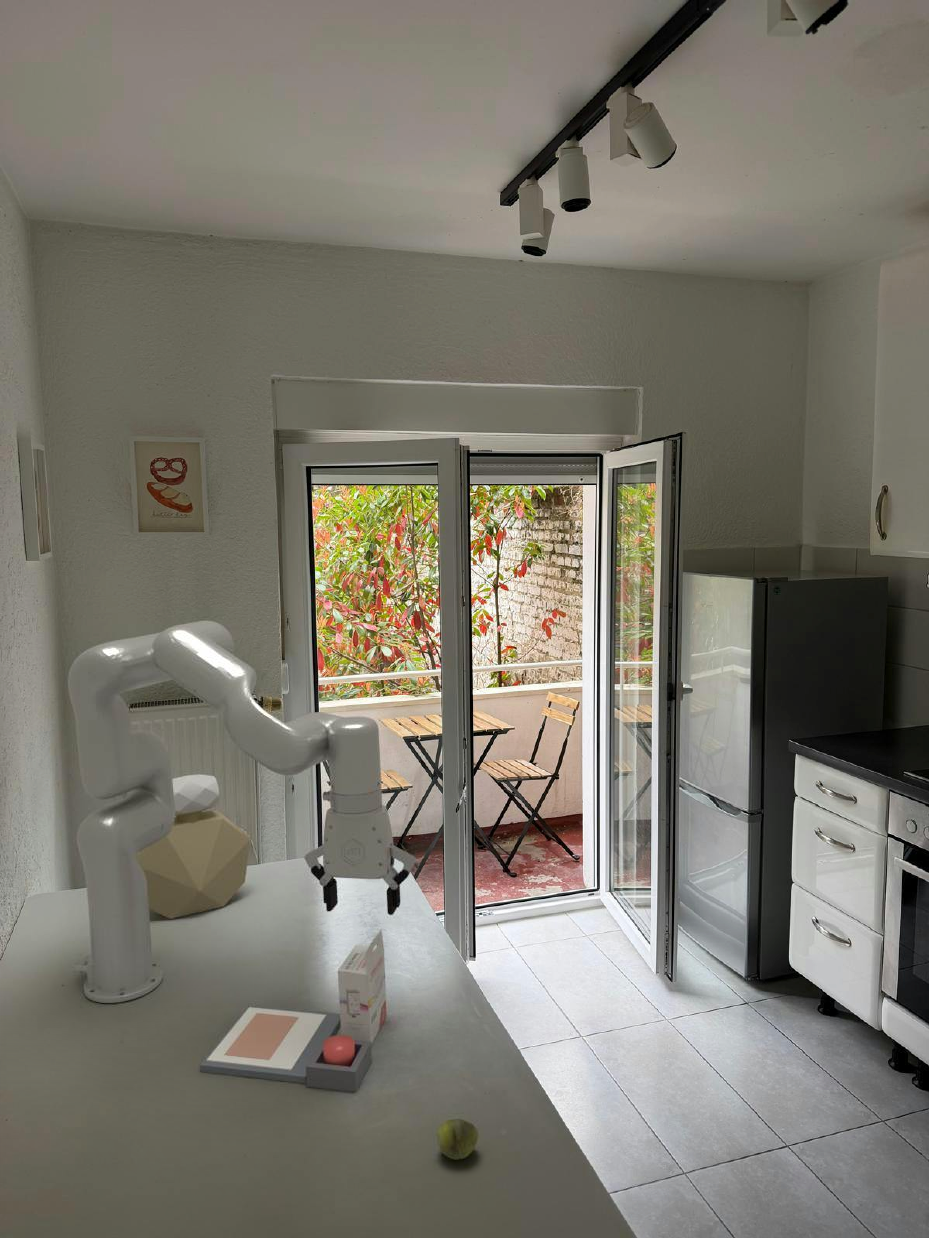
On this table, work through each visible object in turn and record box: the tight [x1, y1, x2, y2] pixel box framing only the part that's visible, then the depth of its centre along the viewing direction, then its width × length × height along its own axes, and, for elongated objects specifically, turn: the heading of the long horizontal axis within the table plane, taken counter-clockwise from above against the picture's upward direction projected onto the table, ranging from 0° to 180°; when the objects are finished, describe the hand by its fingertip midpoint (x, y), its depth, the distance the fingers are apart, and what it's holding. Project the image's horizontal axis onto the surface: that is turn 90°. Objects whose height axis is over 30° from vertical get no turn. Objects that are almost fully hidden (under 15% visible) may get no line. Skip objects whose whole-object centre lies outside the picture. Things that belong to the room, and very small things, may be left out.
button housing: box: [306, 1037, 373, 1093], centre depth 124 cm, size 7×7×3 cm
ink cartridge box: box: [337, 929, 387, 1046], centre depth 134 cm, size 9×5×15 cm, turn 168°
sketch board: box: [199, 1004, 341, 1085], centre depth 131 cm, size 16×16×1 cm
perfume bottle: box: [136, 773, 252, 920], centre depth 178 cm, size 12×24×28 cm, turn 121°
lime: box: [436, 1118, 479, 1161], centre depth 107 cm, size 4×5×5 cm
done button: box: [323, 1034, 355, 1067], centre depth 124 cm, size 4×4×3 cm
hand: (362, 909), depth 133 cm, fingers open, 9 cm apart
